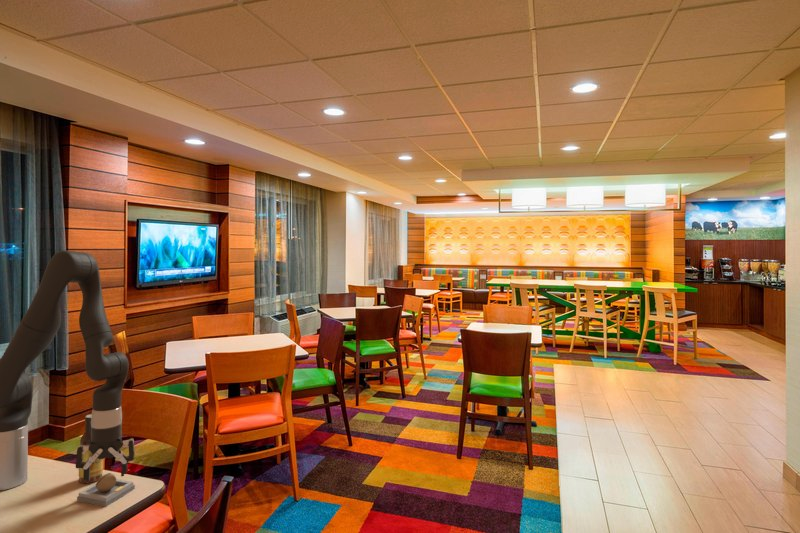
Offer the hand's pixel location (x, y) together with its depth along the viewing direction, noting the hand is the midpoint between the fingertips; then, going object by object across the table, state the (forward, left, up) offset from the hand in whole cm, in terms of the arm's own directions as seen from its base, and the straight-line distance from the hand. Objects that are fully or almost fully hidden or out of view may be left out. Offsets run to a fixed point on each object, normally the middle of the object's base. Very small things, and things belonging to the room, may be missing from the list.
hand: (105, 477), depth 134 cm
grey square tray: (0, 0, -5) cm, 5 cm away
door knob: (0, 0, -4) cm, 4 cm away
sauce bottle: (-12, +6, -5) cm, 14 cm away
